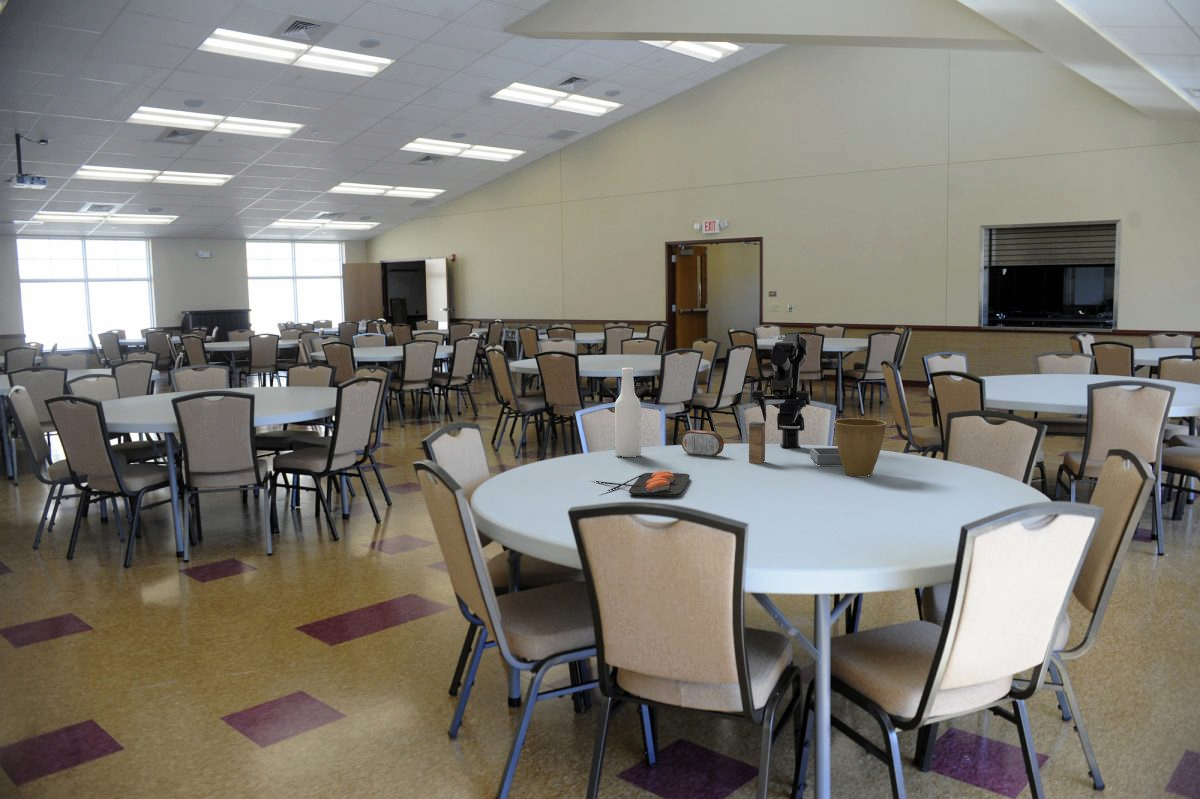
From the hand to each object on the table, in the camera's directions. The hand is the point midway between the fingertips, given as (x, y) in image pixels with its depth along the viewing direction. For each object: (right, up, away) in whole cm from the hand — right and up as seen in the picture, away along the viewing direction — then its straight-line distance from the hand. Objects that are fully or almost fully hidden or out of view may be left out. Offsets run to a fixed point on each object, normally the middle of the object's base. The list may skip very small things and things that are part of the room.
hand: (778, 421), depth 299 cm
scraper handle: (-8, -13, -3) cm, 15 cm away
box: (+17, -13, -5) cm, 22 cm away
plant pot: (+19, -15, -26) cm, 35 cm away
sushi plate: (-49, -18, -38) cm, 65 cm away
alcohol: (-49, -12, +12) cm, 52 cm away
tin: (-24, -12, +12) cm, 29 cm away
